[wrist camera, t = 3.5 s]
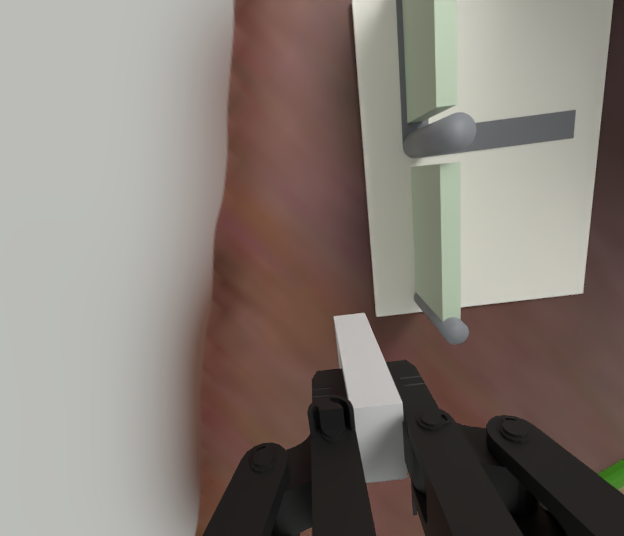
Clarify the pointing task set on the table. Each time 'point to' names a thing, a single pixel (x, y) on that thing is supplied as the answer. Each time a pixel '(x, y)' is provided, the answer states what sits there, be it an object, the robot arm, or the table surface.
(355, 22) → the card
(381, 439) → the robot arm
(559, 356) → the table surface
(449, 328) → the fence panel
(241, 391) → the table surface
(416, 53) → the fence fixed
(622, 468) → the toy garden set
